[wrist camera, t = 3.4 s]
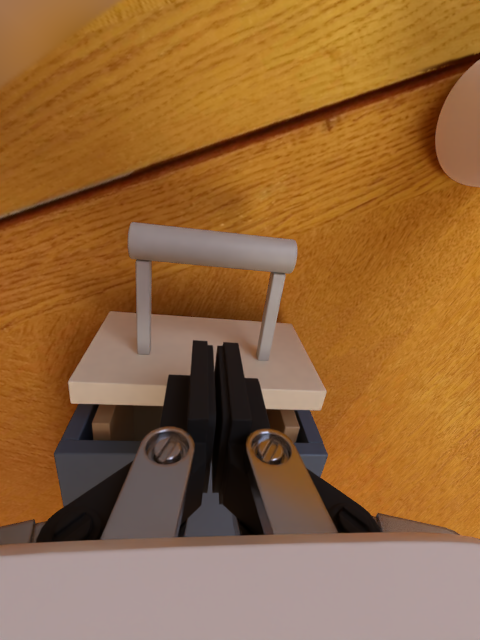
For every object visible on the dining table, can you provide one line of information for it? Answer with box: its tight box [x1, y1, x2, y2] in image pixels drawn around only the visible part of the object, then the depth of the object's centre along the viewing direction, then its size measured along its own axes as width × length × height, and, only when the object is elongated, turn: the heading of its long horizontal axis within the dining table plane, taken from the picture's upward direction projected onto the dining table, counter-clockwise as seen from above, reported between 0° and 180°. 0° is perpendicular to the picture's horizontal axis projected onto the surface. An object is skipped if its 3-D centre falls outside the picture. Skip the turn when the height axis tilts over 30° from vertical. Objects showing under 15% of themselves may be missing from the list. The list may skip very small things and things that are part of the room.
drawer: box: [68, 222, 326, 443], centre depth 19 cm, size 20×11×7 cm, turn 173°
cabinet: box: [54, 404, 328, 537], centre depth 22 cm, size 15×13×9 cm
